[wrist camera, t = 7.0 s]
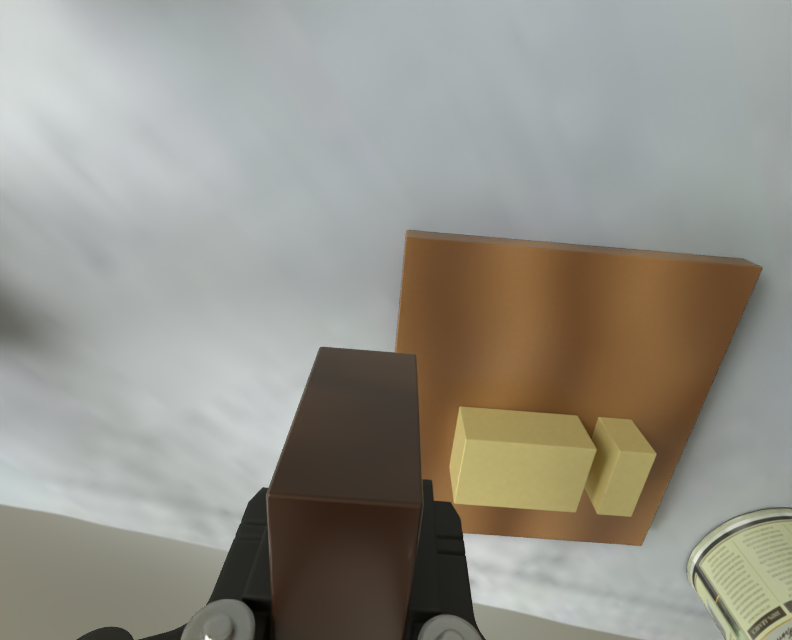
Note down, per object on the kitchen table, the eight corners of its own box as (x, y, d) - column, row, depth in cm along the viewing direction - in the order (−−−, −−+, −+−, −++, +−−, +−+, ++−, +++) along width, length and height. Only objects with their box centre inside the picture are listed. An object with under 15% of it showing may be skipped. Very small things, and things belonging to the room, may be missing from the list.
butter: (449, 466, 29) (453, 504, 26) (459, 405, 27) (465, 439, 24) (559, 474, 29) (576, 513, 26) (577, 414, 27) (597, 449, 24)
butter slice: (578, 476, 29) (596, 514, 26) (598, 416, 27) (619, 451, 24) (609, 478, 29) (631, 517, 26) (631, 419, 27) (657, 453, 24)
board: (380, 509, 32) (379, 527, 31) (406, 229, 24) (406, 236, 23) (631, 528, 33) (641, 546, 31) (743, 258, 24) (763, 267, 23)
